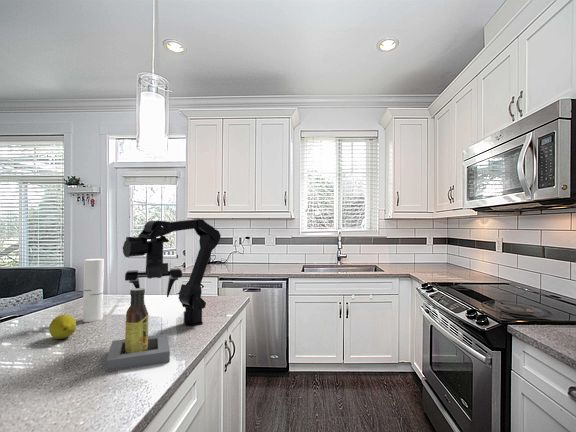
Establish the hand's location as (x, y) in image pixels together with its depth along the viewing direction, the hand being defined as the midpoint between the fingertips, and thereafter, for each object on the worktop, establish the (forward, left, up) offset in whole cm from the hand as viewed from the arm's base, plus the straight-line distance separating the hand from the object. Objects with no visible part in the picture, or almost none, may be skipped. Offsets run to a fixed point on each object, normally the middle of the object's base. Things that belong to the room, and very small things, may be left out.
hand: (154, 298), depth 114 cm
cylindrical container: (+23, -30, -13) cm, 40 cm away
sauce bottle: (+5, +18, -13) cm, 23 cm away
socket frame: (+4, +19, -13) cm, 23 cm away
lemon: (+29, -8, -13) cm, 33 cm away
